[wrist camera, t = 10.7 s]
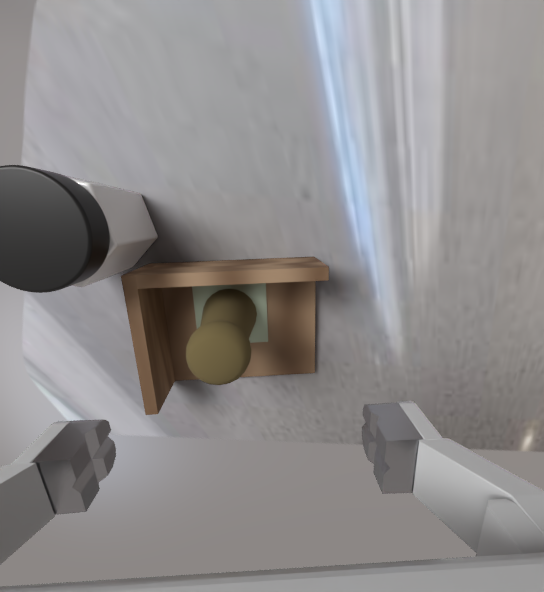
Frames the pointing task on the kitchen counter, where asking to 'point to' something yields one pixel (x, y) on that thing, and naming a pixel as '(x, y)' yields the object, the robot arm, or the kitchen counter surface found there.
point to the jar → (67, 230)
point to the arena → (189, 307)
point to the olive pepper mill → (222, 338)
